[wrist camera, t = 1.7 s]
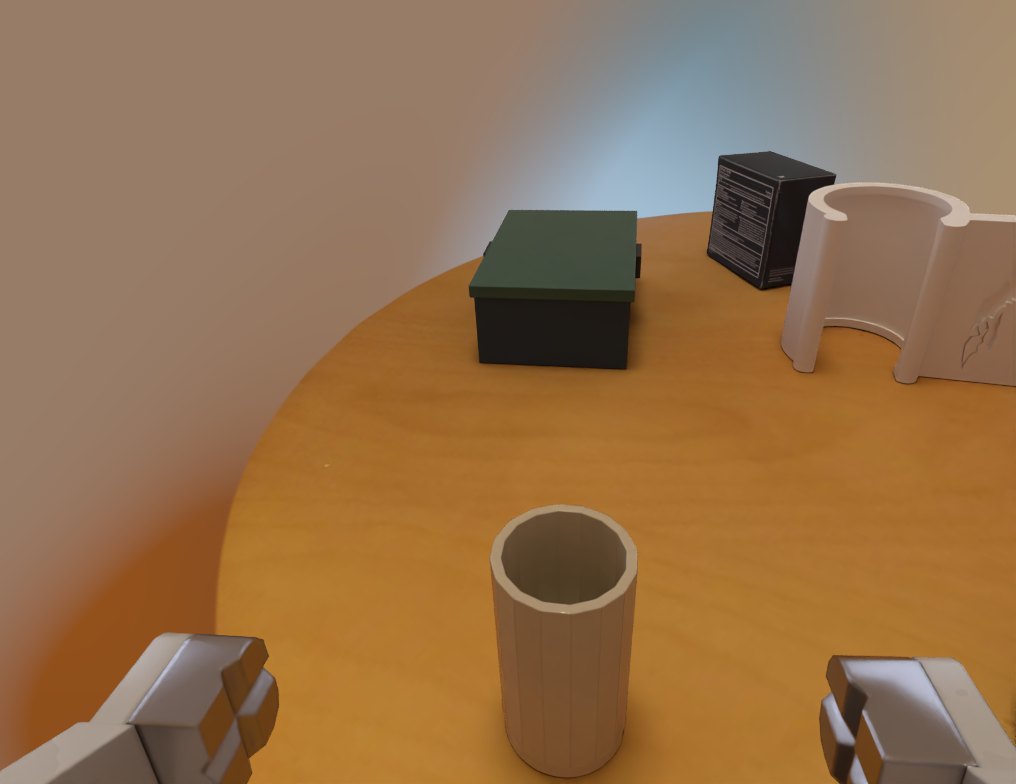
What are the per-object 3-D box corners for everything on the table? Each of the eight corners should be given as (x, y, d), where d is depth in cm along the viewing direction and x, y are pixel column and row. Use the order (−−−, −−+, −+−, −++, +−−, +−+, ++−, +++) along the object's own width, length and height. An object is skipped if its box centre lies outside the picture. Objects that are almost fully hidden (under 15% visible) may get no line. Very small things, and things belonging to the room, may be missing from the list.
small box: (819, 281, 66) (842, 172, 61) (760, 291, 65) (778, 181, 59) (757, 245, 75) (772, 147, 69) (704, 253, 74) (715, 154, 68)
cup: (494, 768, 28) (477, 604, 22) (514, 658, 32) (504, 499, 27) (622, 786, 27) (636, 621, 22) (625, 672, 31) (638, 510, 26)
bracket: (1115, 345, 54) (1191, 192, 47) (1175, 413, 46) (1276, 241, 39) (779, 316, 61) (805, 179, 54) (782, 370, 53) (812, 218, 46)
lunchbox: (635, 371, 54) (641, 290, 50) (469, 364, 56) (462, 285, 52) (637, 278, 69) (642, 210, 65) (507, 275, 71) (504, 209, 68)
